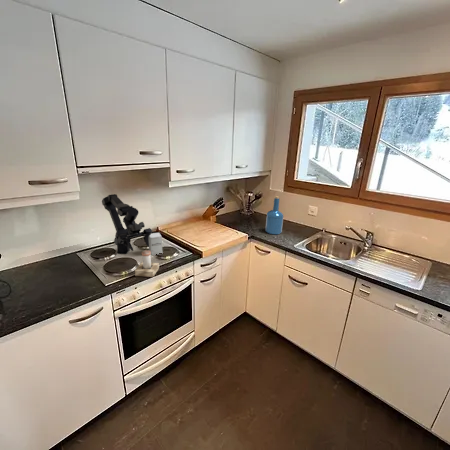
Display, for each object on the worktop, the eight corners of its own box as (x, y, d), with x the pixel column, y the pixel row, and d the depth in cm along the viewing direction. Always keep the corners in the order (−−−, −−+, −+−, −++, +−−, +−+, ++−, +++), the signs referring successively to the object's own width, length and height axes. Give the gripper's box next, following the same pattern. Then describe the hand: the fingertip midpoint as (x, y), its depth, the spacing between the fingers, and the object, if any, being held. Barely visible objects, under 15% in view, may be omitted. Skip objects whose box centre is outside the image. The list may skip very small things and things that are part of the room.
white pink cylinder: (141, 273, 143) (140, 253, 139) (145, 269, 147) (143, 250, 143) (150, 274, 142) (148, 254, 138) (153, 269, 147) (151, 250, 143)
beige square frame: (135, 276, 141) (134, 270, 139) (142, 267, 150) (142, 262, 149) (153, 277, 140) (152, 272, 139) (159, 268, 149) (158, 263, 148)
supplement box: (151, 256, 164) (150, 237, 160) (148, 251, 170) (147, 233, 166) (162, 254, 167) (161, 236, 163) (160, 249, 173) (159, 232, 169)
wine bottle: (276, 228, 220) (280, 194, 210) (284, 234, 208) (289, 198, 198) (262, 230, 216) (265, 194, 206) (269, 235, 204) (273, 198, 194)
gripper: (117, 221, 137) (127, 246, 133) (149, 214, 149) (160, 238, 145) (113, 230, 145) (123, 255, 141) (144, 224, 157) (154, 246, 153)
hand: (140, 248), depth 145 cm, fingers open, 9 cm apart
